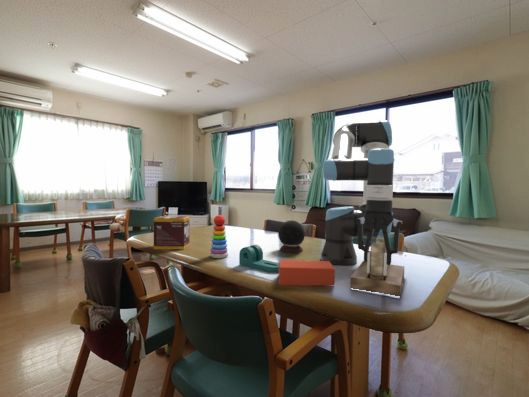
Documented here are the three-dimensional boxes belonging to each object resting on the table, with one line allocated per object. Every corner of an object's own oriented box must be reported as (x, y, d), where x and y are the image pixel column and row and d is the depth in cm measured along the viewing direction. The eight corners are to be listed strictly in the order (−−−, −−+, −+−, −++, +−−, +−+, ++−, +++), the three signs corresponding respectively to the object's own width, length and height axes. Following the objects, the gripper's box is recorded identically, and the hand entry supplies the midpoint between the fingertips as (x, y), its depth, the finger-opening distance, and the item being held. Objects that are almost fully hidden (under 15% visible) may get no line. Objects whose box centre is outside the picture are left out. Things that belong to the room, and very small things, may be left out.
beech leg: (368, 288, 87) (369, 244, 86) (370, 284, 91) (371, 241, 90) (382, 291, 85) (384, 245, 84) (384, 286, 89) (385, 243, 88)
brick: (279, 285, 91) (279, 267, 90) (278, 276, 100) (279, 260, 99) (334, 286, 90) (335, 268, 90) (329, 277, 99) (329, 261, 99)
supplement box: (184, 249, 137) (184, 218, 136) (153, 249, 137) (153, 218, 137) (190, 245, 148) (190, 216, 147) (161, 244, 148) (161, 215, 147)
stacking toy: (231, 257, 124) (231, 215, 123) (214, 259, 120) (214, 216, 119) (223, 253, 131) (223, 213, 130) (207, 255, 126) (207, 214, 125)
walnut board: (350, 289, 87) (351, 245, 86) (363, 271, 106) (364, 234, 105) (399, 299, 80) (401, 251, 79) (404, 277, 99) (405, 238, 98)
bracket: (239, 265, 112) (239, 246, 112) (250, 261, 118) (250, 243, 117) (276, 274, 101) (276, 253, 101) (285, 270, 107) (286, 250, 106)
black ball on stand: (279, 253, 131) (280, 222, 130) (276, 247, 144) (277, 218, 144) (307, 253, 132) (307, 222, 131) (302, 247, 145) (302, 218, 144)
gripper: (348, 198, 87) (346, 271, 89) (409, 200, 79) (406, 281, 80) (353, 197, 94) (351, 266, 95) (410, 199, 85) (407, 274, 87)
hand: (376, 273), depth 88 cm, fingers closed on beech leg, 4 cm apart
